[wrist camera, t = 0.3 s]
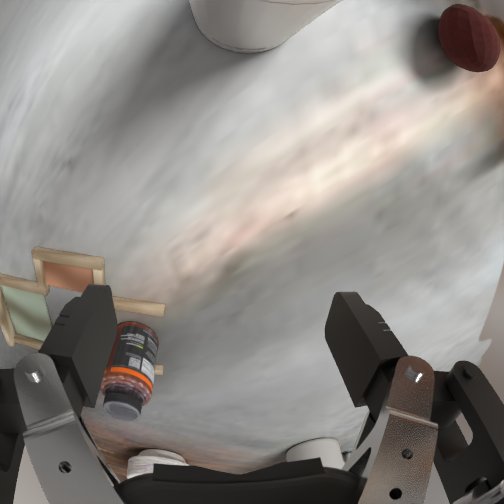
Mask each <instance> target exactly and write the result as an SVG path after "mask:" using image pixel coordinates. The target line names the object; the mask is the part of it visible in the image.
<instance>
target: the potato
mask: <svg viewBox="0 0 504 504" xmlns="http://www.w3.org/2000/svg"><path fill="white" fill-rule="evenodd" d="M438 37H439V41H440V44H441V46H442V49H443V51H444V52H445V54H446V55H447V57H448V58H449V59H450V60H451V61H452V62H453V63H454V64H456V65H457V66H459V67H461V68H463V69H466V70H469V71H472V72H484V71H488V70H490V69H491V68H493V66H494V65H495V64H496V62H497V60H498V58H499V54H500V39H499V37H498V34H497V31H496V29H495V28H494V26H493V25H492V24H491V22H490V21H489V20H488V19H487V18H486V17H485V16H484V15H482V14H481V13H480V12H478V11H477V10H475V9H474V8H472V7H469V6H466V5H461V4H455V5H452V6H450V7H449V8H447V9H446V10H445V11H444V12H443V13H442V15H441V18H440V20H439V23H438Z"/></svg>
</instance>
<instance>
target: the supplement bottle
mask: <svg viewBox="0 0 504 504" xmlns="http://www.w3.org/2000/svg"><path fill="white" fill-rule="evenodd" d="M157 351H158V338H157V336H156V334H155V332H154V331H153V330H152V329H150V328H149V327H147V326H146V325H144V324H141V323H138V322H125V323H122V324H120V325H118V326H117V335H116V339H115V342H114V345H113V348H112V351H111V354H110V357H109V360H108V363H107V366H106V370H105V373H104V376H103V379H102V383H101V386H100V389H101V391H102V393H103V394H104V396H105V398H104V404H103V408H104V410H105V411H106V413H108V414H109V415H110V416H112V417H114V418H116V419H119V420H123V421H134V420H137V419H139V418H140V414H141V409H142V406H144V405H145V404H147V403H148V402H149V401H150V399H151V396H152V389H153V381H154V373H155V366H156V358H157Z"/></svg>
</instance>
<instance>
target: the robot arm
mask: <svg viewBox="0 0 504 504" xmlns="http://www.w3.org/2000/svg"><path fill="white" fill-rule="evenodd" d="M340 1H342V0H189V3H190V6H191V10H192V13H193V16H194V20H195V22H196V24H197V26H198V28H199V30H200V31H201V32H202V33H203V35H204V36H205V37H206V38H207V39H209V40H210V41H211V42H213V43H214V44H216V45H218V46H220V47H222V48H224V49H227V50H231V51H234V52H241V53H256V52H262V51H266V50H270V49H273V48H275V47H277V46H279V45H281V44H282V43H284V42H285V41H286V40H288V39H289V38H290V37H291V36H293V35H294V34H296V33H297V32H298V31H300V30H301V29H302V28H304V27H305V26H306V25H308V24H309V23H310V22H312V21H313V20H314V19H316V18H317V17H318V16H320V15H321V14H323V13H324V12H326V11H327V10H328V9H330V8H331V7H333V6H334V5H336V4H337V3H339V2H340ZM116 335H117V319H116V314H115V309H114V303H113V298H112V292H111V288H110V286H109V285H97V284H89V285H88V286H87V287H86V289H85V290H84V292H83V294H82V295H81V297H75V298H74V299H72V300H71V301H70V302H68V303H67V304H66V305H65V306H64V308H63V310H62V311H61V313H60V316H59V317H58V318H57V320H56V321H55V325H53V327H52V328H51V330H50V332H49V334H48V335H47V337H46V339H45V341H44V343H43V344H42V346H41V348H40V350H39V352H38V353H33V354H29V355H27V356H25V357H23V358H22V359H21V360H20V361H19V362H18V363H17V364H16V366H15V368H14V369H0V504H13V500H14V493H15V488H16V482H17V477H18V472H19V467H20V462H21V458H22V454H23V449H24V446H25V445H26V448H27V451H28V454H29V457H30V460H31V462H32V465H33V468H34V470H35V473H36V475H37V477H38V480H39V482H40V484H41V487H42V489H43V491H44V493H45V495H46V498H47V500H48V502H49V504H423V503H424V499H425V495H426V492H427V488H428V483H429V479H430V475H431V470H432V464H433V462H434V464H435V467H436V469H437V471H438V474H439V476H440V479H441V482H442V484H443V486H444V489H445V492H446V494H447V497H448V500H449V503H450V504H504V404H503V403H502V401H501V400H500V398H499V397H498V395H497V393H496V392H495V390H494V389H493V387H492V386H491V384H490V383H489V382H488V380H487V379H486V377H485V376H484V374H483V373H482V372H481V370H480V369H479V368H478V367H477V366H476V365H474V364H473V363H471V362H468V361H458V362H457V363H455V365H454V366H453V368H452V369H451V371H450V372H443V371H434V370H433V368H432V367H431V366H430V364H429V363H427V362H426V361H425V360H423V359H421V358H419V357H416V356H408V354H407V353H406V351H405V350H404V348H403V347H402V345H401V344H400V342H399V341H398V339H397V338H396V336H395V335H394V334H393V332H392V331H390V328H389V326H388V325H387V323H385V321H384V319H383V318H382V316H381V315H380V314H379V312H378V311H376V310H375V309H374V308H372V307H371V306H370V305H366V304H365V303H364V301H363V300H362V298H361V297H360V296H359V294H358V293H357V292H337V293H335V295H334V297H333V301H332V304H331V308H330V311H329V315H328V318H327V321H326V325H325V339H326V342H327V344H328V346H329V348H330V351H331V353H332V355H333V358H334V360H335V362H336V364H337V367H338V369H339V371H340V373H341V376H342V378H343V380H344V383H345V385H346V387H347V390H348V392H349V394H350V397H351V399H352V401H353V404H354V406H355V407H361V406H366V405H367V406H368V408H369V411H368V412H367V414H366V416H365V419H364V422H363V425H362V427H361V430H360V432H359V435H358V438H357V440H356V442H355V445H354V447H353V450H352V452H351V454H350V456H349V458H348V460H347V461H346V463H345V465H344V466H343V468H342V470H341V469H337V468H332V467H325V466H323V465H322V461H321V458H320V457H318V458H312V459H305V460H298V461H291V462H282V463H279V464H276V465H273V466H270V467H267V468H263V469H260V470H257V471H254V472H250V473H247V474H242V475H236V474H230V473H225V472H220V471H215V470H211V469H206V468H202V467H198V466H186V465H170V464H158V463H154V464H153V473H146V474H142V475H137V476H135V477H132V478H129V479H127V480H125V481H123V482H120V481H119V479H118V478H117V476H116V475H115V474H114V472H113V471H112V469H111V468H110V466H109V465H108V463H107V462H106V460H105V459H104V457H103V455H102V454H101V452H100V450H99V448H98V447H97V445H96V443H95V441H94V439H93V438H92V436H91V434H90V432H89V430H88V428H87V426H86V424H85V422H84V420H83V418H82V416H81V412H82V408H83V406H85V407H91V408H95V404H96V400H97V397H98V393H99V390H100V386H101V383H102V379H103V376H104V373H105V370H106V366H107V363H108V360H109V357H110V354H111V351H112V348H113V345H114V342H115V339H116ZM461 413H463V415H464V417H465V419H466V420H467V422H468V424H469V426H470V428H471V430H472V432H473V439H472V442H471V444H470V445H469V446H468V444H467V442H466V440H465V438H464V436H463V434H462V432H461V430H460V428H459V426H458V424H457V423H456V418H457V417H458V416H459V415H460V414H461Z"/></svg>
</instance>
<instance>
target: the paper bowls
mask: <svg viewBox="0 0 504 504" xmlns="http://www.w3.org/2000/svg"><path fill="white" fill-rule="evenodd" d="M154 463H158V464H170V465H186V466H190V465H188V464H186V462H185V460H184V458H183V457H182V456H180V455H178V454H176V453H174V452H171V451H166V450H160V449H147V450H143V451H141V452H140V453H139V455H138V456H134V457H131V458H129V460H128V469H127V479H129V478H132V477H135V476H137V475H142V474H146V473H153V464H154Z"/></svg>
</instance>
